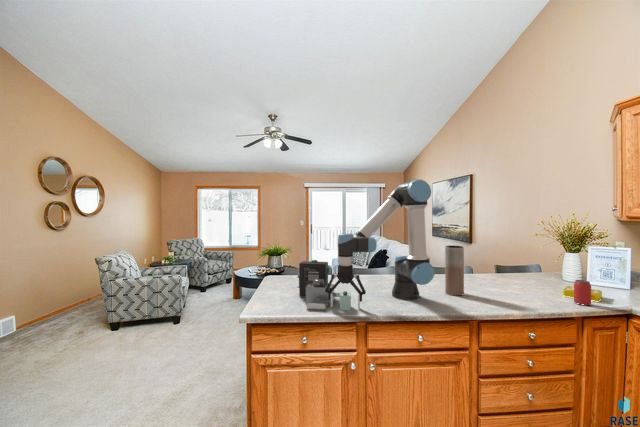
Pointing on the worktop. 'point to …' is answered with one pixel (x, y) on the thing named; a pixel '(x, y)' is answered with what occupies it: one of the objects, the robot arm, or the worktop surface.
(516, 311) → the worktop surface
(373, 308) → the worktop surface
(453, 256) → the vase
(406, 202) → the robot arm
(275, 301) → the worktop surface
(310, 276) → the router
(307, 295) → the motor
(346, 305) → the block
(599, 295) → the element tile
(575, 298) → the beer can
